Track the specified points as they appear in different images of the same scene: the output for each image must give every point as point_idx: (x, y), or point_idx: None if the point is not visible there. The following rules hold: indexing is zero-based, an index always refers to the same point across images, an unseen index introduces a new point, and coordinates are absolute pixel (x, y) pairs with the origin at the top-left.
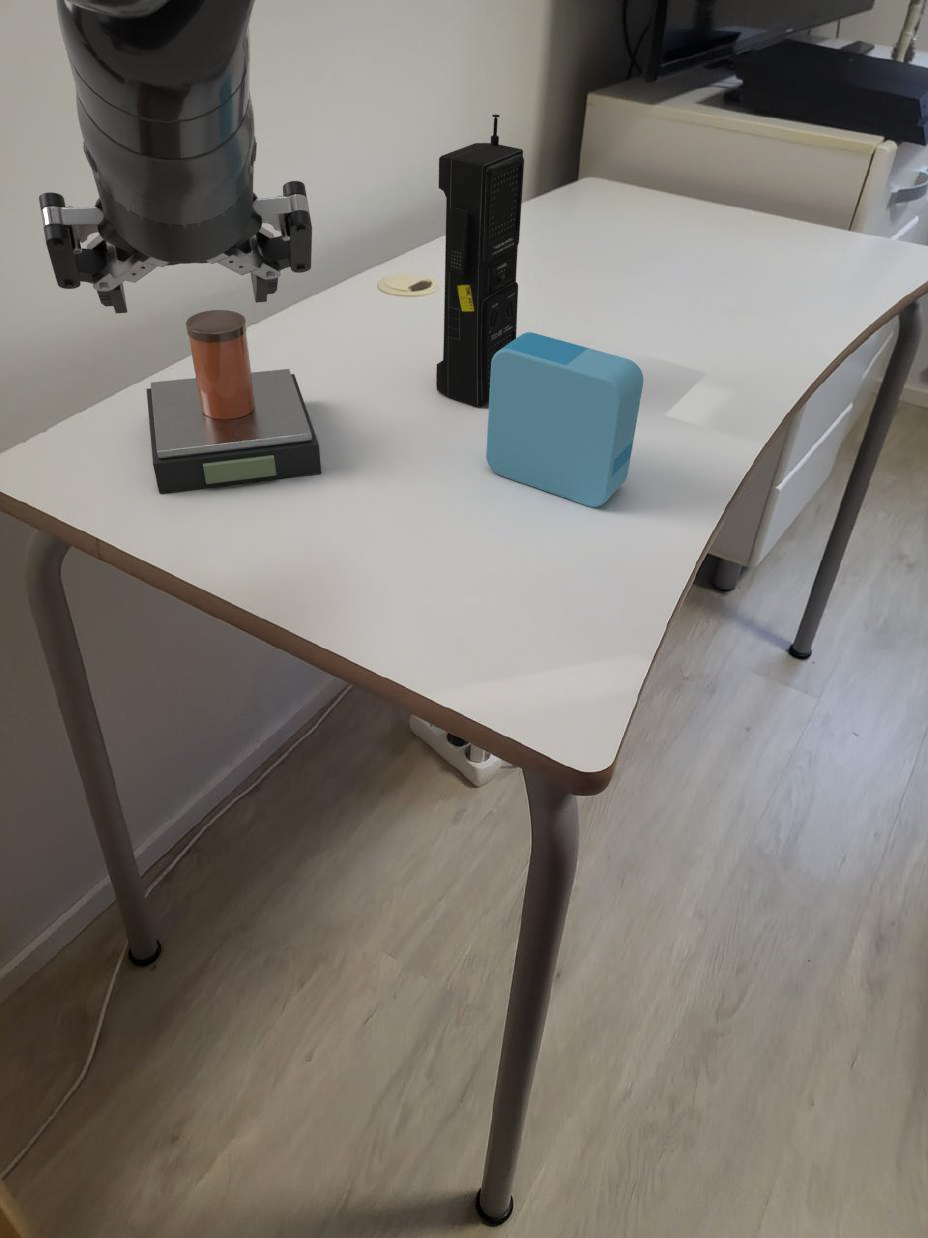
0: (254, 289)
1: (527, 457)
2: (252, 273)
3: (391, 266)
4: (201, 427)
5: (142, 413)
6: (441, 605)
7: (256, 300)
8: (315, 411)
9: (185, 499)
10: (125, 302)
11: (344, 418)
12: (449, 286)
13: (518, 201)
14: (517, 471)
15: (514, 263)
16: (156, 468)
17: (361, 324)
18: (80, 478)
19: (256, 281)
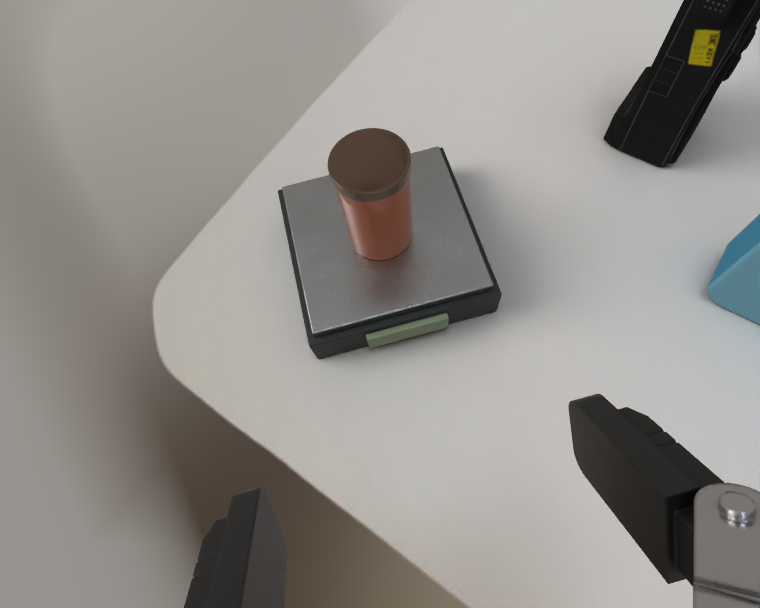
0: (591, 468)
1: None
2: (601, 456)
3: None
4: (356, 278)
5: (275, 205)
6: None
7: (590, 481)
8: (466, 188)
9: (348, 368)
10: (280, 548)
11: (502, 199)
12: (680, 29)
13: None
14: (754, 313)
15: None
16: (313, 348)
17: (487, 20)
18: (228, 331)
19: (654, 564)
